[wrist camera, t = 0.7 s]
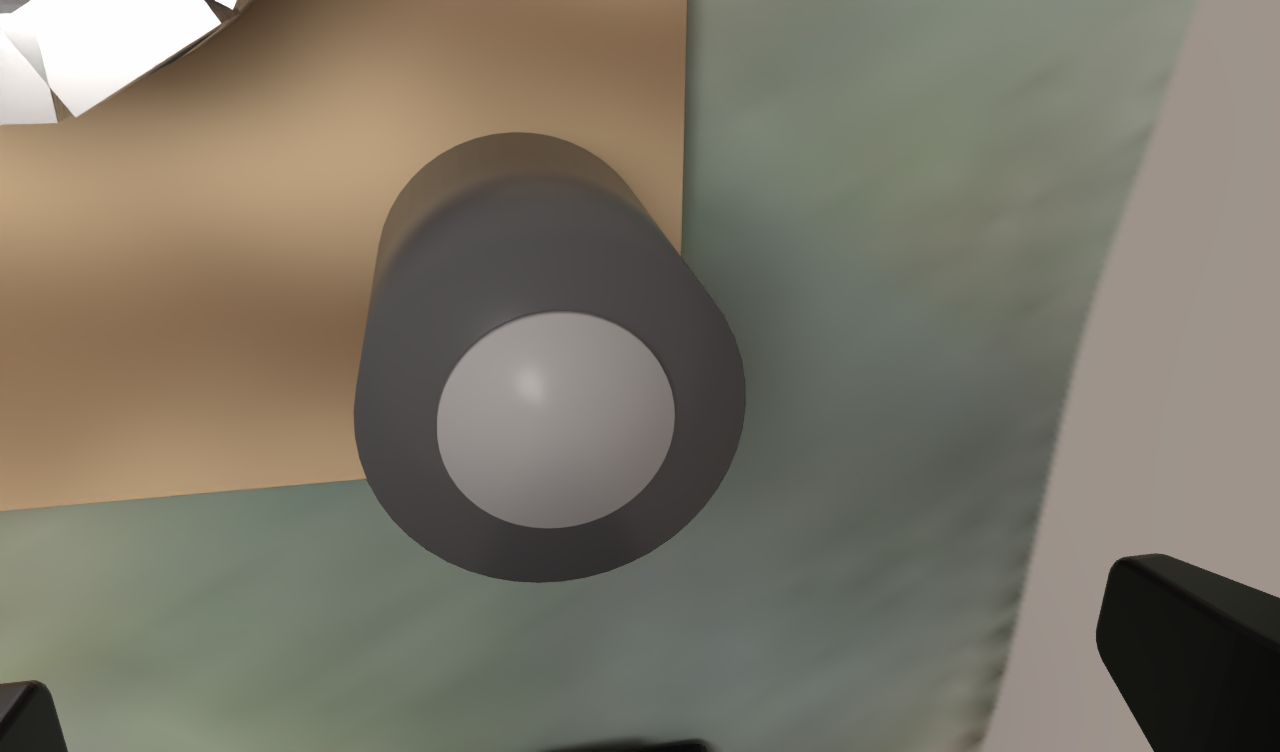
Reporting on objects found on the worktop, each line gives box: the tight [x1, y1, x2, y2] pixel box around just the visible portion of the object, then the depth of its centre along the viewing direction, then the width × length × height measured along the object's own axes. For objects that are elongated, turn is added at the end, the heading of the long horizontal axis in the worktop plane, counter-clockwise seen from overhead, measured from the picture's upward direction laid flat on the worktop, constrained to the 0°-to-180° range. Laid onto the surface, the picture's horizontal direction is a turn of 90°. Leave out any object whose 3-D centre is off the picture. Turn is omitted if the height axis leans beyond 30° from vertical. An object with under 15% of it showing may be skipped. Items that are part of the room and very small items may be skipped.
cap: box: [353, 132, 746, 583], centre depth 15 cm, size 5×5×6 cm
